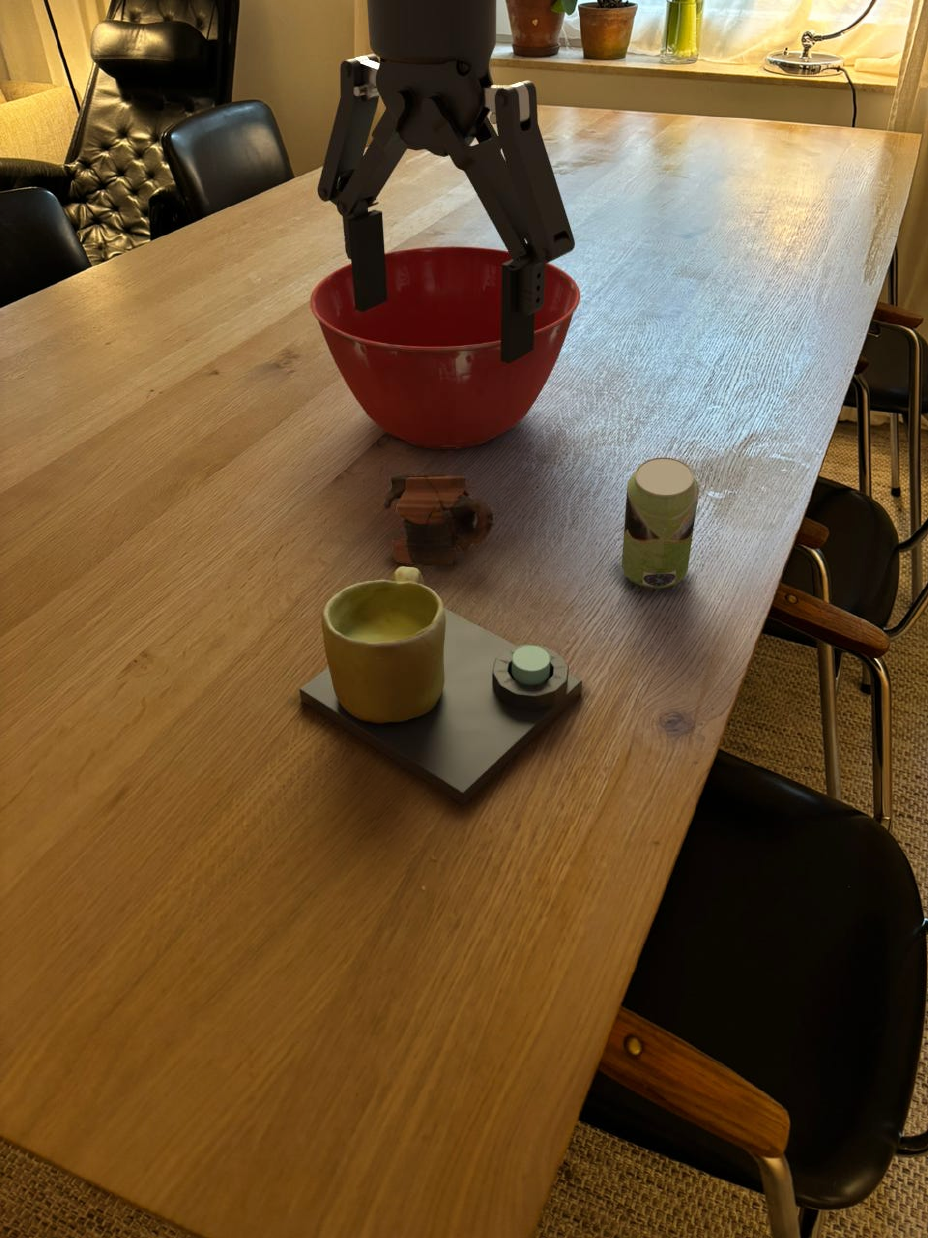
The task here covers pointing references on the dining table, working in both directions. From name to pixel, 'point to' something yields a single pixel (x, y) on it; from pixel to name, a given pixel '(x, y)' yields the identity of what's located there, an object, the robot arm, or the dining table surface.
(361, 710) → the mug
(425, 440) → the mixing bowl
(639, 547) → the beverage can
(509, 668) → the scale
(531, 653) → the power button
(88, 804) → the dining table surface
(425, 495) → the pottery mug
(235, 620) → the dining table surface
